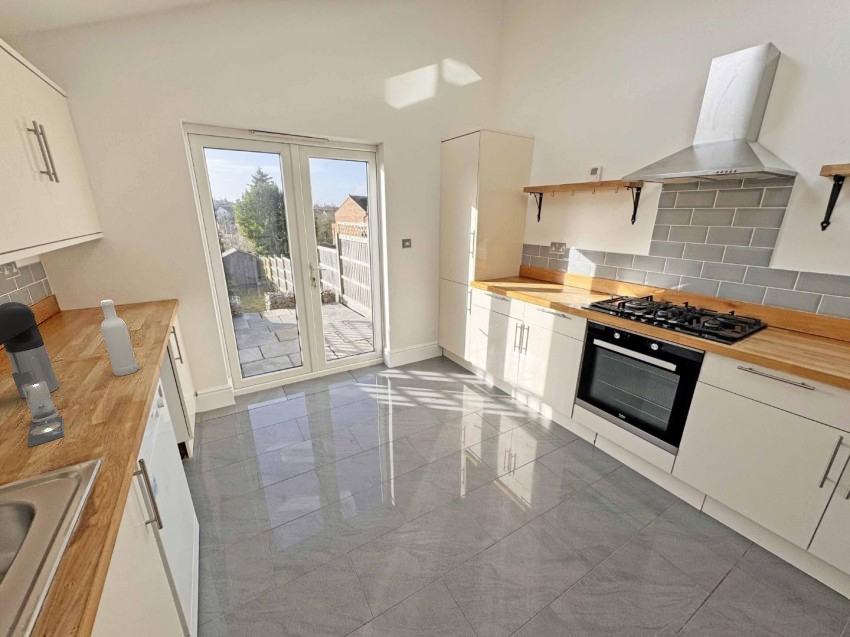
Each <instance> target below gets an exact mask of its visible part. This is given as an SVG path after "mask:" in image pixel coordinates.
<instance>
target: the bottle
mask: <svg viewBox="0 0 850 637" xmlns="http://www.w3.org/2000/svg"><path fill="white" fill-rule="evenodd" d="M100 307H101V309H102V312H103V316H104V319H103V320H102V322H101V326H100V331H101V334H102V338H103V342H104V345H105V348H106V351H107V355H108V358H109V361H110V364H111V370H112V372H113V374H114V376H117V377H120V376H121V377H124V376H128V375H131V374H134V373H136V372H137V371H138V370H139V366H138V362H137V359H136V356H135V352H134V348H133V345H132V341H131V337H130V333H129V330H128V326H127V324H126V322H125V321H124V319H122V318H121V317H119V316H117V311H116V307H115V302H114V301H113V299H104V300H100Z"/></svg>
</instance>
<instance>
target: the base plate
mask: <svg viewBox="0 0 850 637" xmlns="http://www.w3.org/2000/svg"><path fill="white" fill-rule="evenodd" d="M64 421H65V420H64V418H63V415H62V416H57V417H56V418H54V419H50V420H47V421H43V422H40V423H33V424H30V425H29V428H28V429H29V430H28V437H27V445H28V447H29V448H31V447H35V446H38V445H41V444H45V443H47V442H51V441H54V440H57V439H60V438H63V437H65V430H64V429H65V427H64V426H65V425H64Z"/></svg>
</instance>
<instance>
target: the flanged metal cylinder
mask: <svg viewBox="0 0 850 637" xmlns="http://www.w3.org/2000/svg"><path fill="white" fill-rule="evenodd" d="M21 388H22V390H23V393H24V395H25V398H24V399H25V400H26V403H27V405H28V409H29V410H30V413H31V416H32V417H31V421H32V423H33V424H36V423H40V422H43V421H47V420H50V419H54V418H57V417H60V416H59V415H60V412H59V409H56V407H55V406H56V405H55V403H54V400H53V398H52V396H51V393H50V392H49V389H48V387H47V384H46V381H45V380H38V381H33V382H30V383H27V384H24V385H23V386H22V387H21Z"/></svg>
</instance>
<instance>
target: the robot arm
mask: <svg viewBox="0 0 850 637" xmlns="http://www.w3.org/2000/svg"><path fill="white" fill-rule="evenodd" d="M0 346H4V347H3V348H4V349H5V352H6V355H7V357H8V360H9V363H10V365H11V367H12V370H13V373H11V376H12V378H13V381H14V384H15V386H16V390H17V391H18V392H17V393H18V395H19V396H20V399H26V398H25V395H24V393H23V390H22V388H21V387H22V386H23V385H24V384H27V383H30V382H33V381H38V380H45V381H46V384H47V387H48V389H49V392H50V394H51V393H53V392H55V391H57V390H58V389H59V388H60V384H59V382H58V380H57V376H56V374H55V371H54V367H53V366H52V363H51V360H50V356H49V353H48V351H47V349H46V345H45V342H44V340H43V336H42V334H41V332H40V329H39V327H38V324H37V321H36V316H35V312H34V311H33V310H32V309H31V308H30V307H29V306H28V305H26V304H25V303H22V302H17V301H16V302H15V301H11V302H9V301H8V302H5V303H2V304H0Z"/></svg>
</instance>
